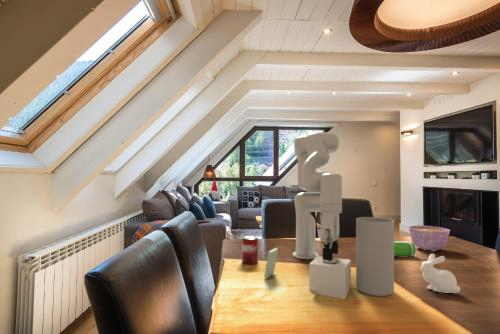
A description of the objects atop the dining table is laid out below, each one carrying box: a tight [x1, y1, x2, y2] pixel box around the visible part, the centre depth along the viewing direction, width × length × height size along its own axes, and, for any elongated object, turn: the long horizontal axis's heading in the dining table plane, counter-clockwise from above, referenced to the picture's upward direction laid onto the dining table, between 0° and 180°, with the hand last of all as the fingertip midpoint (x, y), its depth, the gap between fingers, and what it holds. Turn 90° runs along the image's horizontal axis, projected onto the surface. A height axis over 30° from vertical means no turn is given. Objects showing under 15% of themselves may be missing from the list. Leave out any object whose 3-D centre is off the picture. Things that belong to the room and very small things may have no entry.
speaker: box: [394, 240, 417, 257], centre depth 162 cm, size 18×7×8 cm, turn 88°
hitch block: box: [308, 255, 352, 300], centre depth 114 cm, size 12×12×10 cm
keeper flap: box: [263, 247, 279, 279], centre depth 125 cm, size 7×1×10 cm, turn 154°
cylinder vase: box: [355, 216, 395, 297], centre depth 114 cm, size 12×12×25 cm
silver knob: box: [322, 256, 340, 264], centre depth 114 cm, size 6×6×10 cm
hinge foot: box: [266, 273, 278, 281], centre depth 125 cm, size 7×2×1 cm, turn 154°
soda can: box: [241, 235, 259, 266], centre depth 144 cm, size 7×7×12 cm
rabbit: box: [419, 253, 461, 295], centre depth 115 cm, size 12×9×12 cm
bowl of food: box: [408, 225, 451, 251], centre depth 177 cm, size 20×20×12 cm
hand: (330, 256), depth 114 cm, fingers open, 9 cm apart
